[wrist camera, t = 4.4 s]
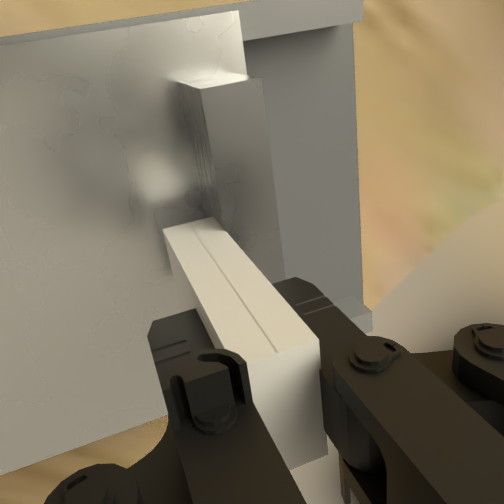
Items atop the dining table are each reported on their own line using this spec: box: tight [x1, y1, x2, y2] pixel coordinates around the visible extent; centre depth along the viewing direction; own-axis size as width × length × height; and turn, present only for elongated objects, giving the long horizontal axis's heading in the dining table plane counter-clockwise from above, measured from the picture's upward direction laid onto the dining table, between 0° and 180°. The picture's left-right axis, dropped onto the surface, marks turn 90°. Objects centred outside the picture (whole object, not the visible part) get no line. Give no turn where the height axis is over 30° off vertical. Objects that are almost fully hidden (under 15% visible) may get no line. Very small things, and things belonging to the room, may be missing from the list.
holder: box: [0, 0, 372, 333], centre depth 16 cm, size 13×18×3 cm
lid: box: [0, 10, 286, 476], centre depth 13 cm, size 13×12×3 cm
